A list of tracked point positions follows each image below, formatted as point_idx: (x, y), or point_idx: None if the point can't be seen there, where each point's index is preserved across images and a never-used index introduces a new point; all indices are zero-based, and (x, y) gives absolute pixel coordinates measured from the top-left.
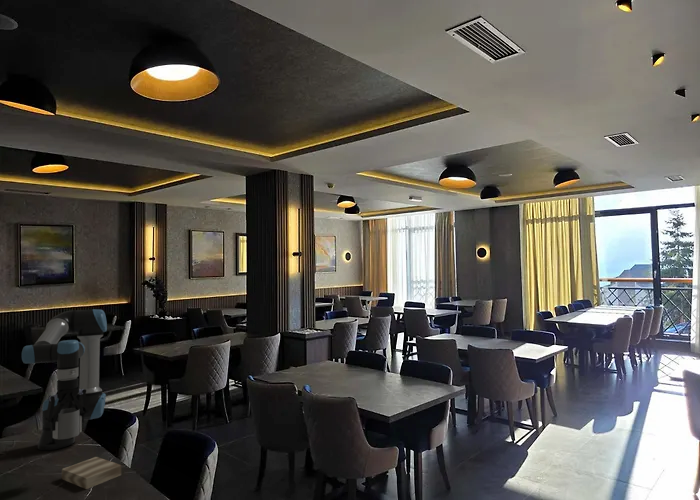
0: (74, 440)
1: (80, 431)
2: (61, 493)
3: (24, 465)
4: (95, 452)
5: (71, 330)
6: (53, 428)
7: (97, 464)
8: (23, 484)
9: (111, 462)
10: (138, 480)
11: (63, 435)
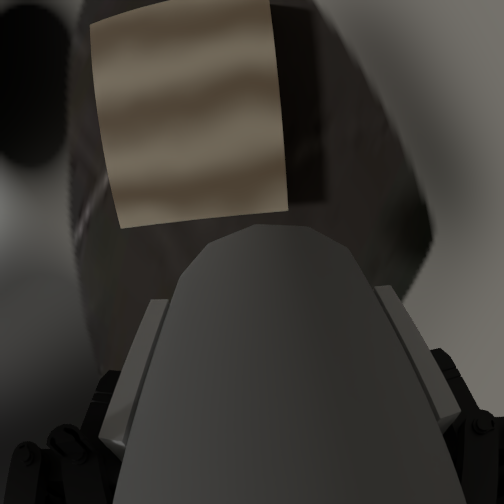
0: None
1: (159, 303)
2: (344, 55)
3: None
4: (109, 338)
5: None
6: (443, 365)
7: (150, 117)
8: (377, 269)
9: (99, 89)
10: None
11: (357, 266)
